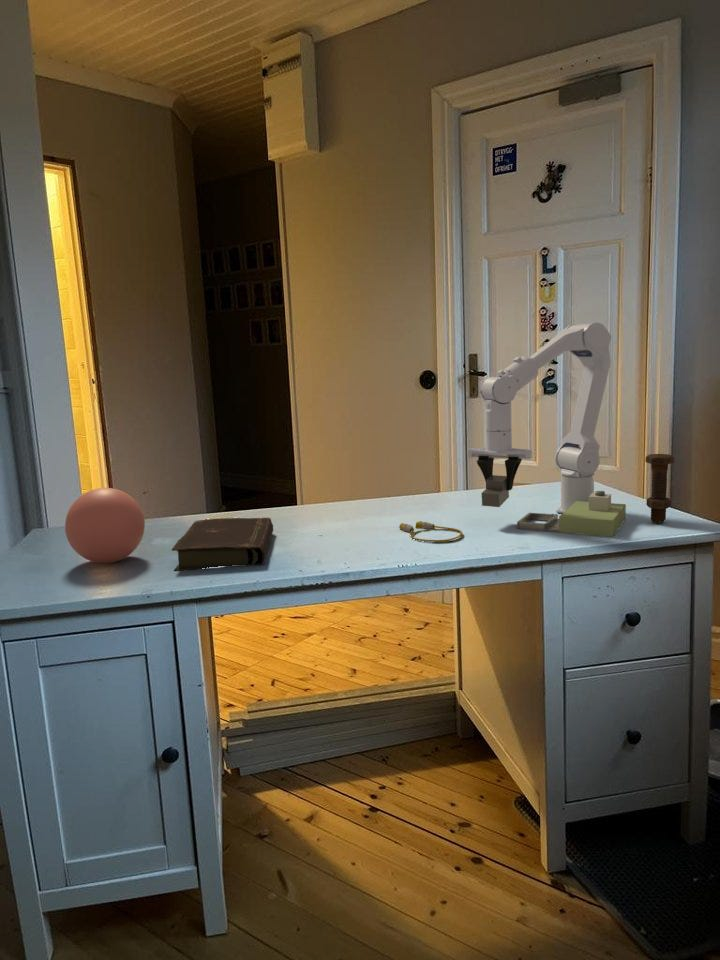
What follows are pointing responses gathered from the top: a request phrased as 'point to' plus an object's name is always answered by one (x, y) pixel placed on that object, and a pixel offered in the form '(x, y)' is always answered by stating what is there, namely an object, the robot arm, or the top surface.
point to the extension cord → (428, 526)
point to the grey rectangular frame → (550, 525)
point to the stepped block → (495, 491)
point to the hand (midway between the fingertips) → (499, 489)
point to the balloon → (104, 525)
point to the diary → (223, 542)
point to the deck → (593, 516)
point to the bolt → (659, 486)
